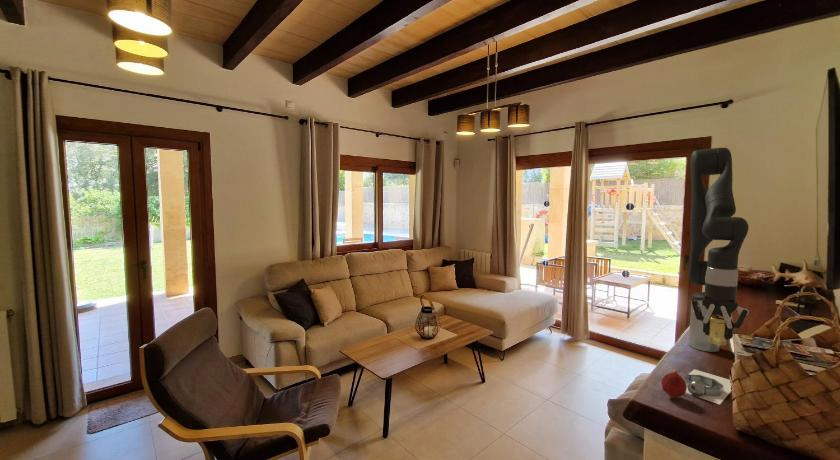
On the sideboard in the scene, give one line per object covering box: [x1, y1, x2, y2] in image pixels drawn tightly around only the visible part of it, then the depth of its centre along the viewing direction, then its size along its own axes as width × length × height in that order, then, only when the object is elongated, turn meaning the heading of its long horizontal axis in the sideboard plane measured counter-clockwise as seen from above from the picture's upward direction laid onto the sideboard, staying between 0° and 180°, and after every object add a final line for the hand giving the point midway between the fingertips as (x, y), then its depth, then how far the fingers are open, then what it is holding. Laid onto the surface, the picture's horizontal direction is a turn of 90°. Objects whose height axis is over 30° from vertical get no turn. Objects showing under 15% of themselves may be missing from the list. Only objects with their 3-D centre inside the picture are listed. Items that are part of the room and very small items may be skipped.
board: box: [682, 368, 733, 408], centre depth 108 cm, size 20×11×1 cm, turn 128°
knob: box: [708, 315, 728, 346], centre depth 112 cm, size 5×5×8 cm
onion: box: [661, 369, 687, 399], centre depth 103 cm, size 6×6×8 cm
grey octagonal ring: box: [683, 373, 723, 398], centre depth 105 cm, size 11×9×4 cm
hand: (717, 336), depth 112 cm, fingers closed on knob, 4 cm apart
